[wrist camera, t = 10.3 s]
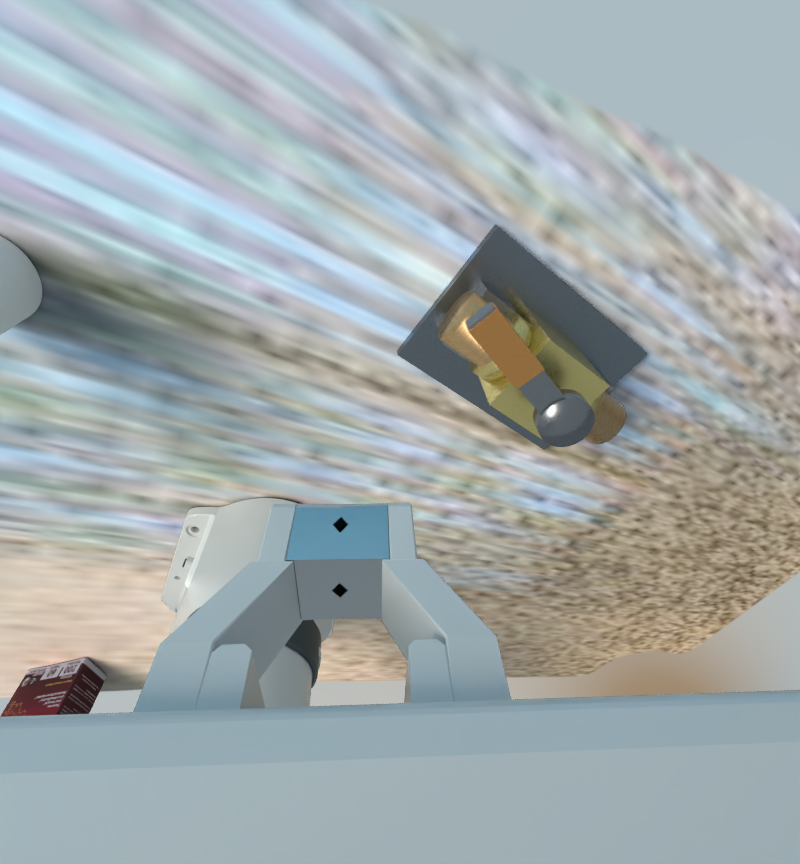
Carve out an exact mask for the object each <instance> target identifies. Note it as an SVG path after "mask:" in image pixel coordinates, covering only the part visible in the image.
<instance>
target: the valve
mask: <svg viewBox="0 0 800 864" xmlns="http://www.w3.org/2000/svg"><path fill="white" fill-rule="evenodd" d="M489 302H491V303H493V302H494V304H495V305H496V306H497V307H498V309H499V310H500V311H501V313H502V314H503V315H504V316H505V318H506V319H507V320H508V322H509V323H510V324H511V325H512V327H513V328H514V329H515V331H516V332H517V333H518V334H519V336H520V337H521V338H522V339H523V341H524V342H525V343H526V345H527V346H528V347H529V348H530V350H531V351H532V352H533V354H534V355H535V356H536V357H537V359H538V360H539V361H540V363H541V364H542V366H543V368H544V369H545V370H544V371H545V372H546V373H547V374H548V376H549V377H550V378H551V379H552V381H553V382H554V383H555V385H556V386H557V387H558V388H559V390H561V389H571V390H574V391H577V392H579V393H580V394H581V395H582V396H583V397H584V398H585V400H586V401H587V402H588V404H589V405H590V406H591V408H592V409H593V411H594V414H595V422H594V426H593V428H592V430H591V431H590V433H589V434H588V435H587V436H586V437H585V438H584V439H585V440H586V441H588V442H589V443H591V444H602V443H605V442H607V441H609V440H611V439H612V438H613V437H614V436H615V435H617V433H618V432H619V431H620V430H621V428H622V427H623V425H624V422H625V419H626V410H625V407H624V406H623V405H622V404H621V403H620V402H618V401H617V400H616V399H615V398H613V397H612V396H611V395H609V394H610V393H611V392H612V391H613V390H614V389H615V388H614V387H613V385H614V384H615V383H616V382H617V381H618V380H620V379H621V378H622V377H623V376H624V375H625V374H626V373H627V372H628V371H629V370H630V369H631V368H632V367H633V366H635V365H636V364H637V363H638V362H639V361H640V360H641V359H642V358H643V357H644V356H645V355H646V354H647V352H645V351H644V350H643V349H642V348H641V347H640V346H639V345H637V344H636V343H635V342H634V341H633V340H631V339H630V338H629V337H628V336H627V335H626V334H624V333H623V332H622V331H621V330H620V329H618V328H617V327H616V326H615V325H614V324H613V323H611V322H610V321H609V320H608V319H607V318H605V317H604V316H603V315H602V314H601V313H600V312H598V311H597V310H596V309H595V308H594V307H592V306H591V305H590V304H589V303H588V302H587V301H585V300H584V299H583V298H582V297H581V296H579V295H578V294H577V293H576V292H575V291H574V290H572V289H571V288H570V287H569V286H568V285H566V284H565V283H564V282H563V281H562V280H561V279H559V278H558V277H557V276H556V275H555V274H553V273H552V272H551V271H550V270H549V269H548V268H546V267H545V266H544V265H543V264H542V263H540V262H539V261H538V260H537V259H536V258H534V257H533V256H532V255H531V254H530V253H529V252H527V251H526V250H525V249H524V248H523V247H521V246H520V245H519V244H518V243H517V242H516V241H514V240H513V239H512V238H511V237H510V236H508V235H507V234H506V233H505V232H504V231H503V230H501V229H500V228H499V227H498V226H497V225H495V226H494V227H493V228H492V229H491V231H490V232H489V233H488V235H487V236H486V237H485V238H484V240H483V241H482V242H481V244H480V245H479V246H478V247H477V249H476V250H475V251H474V253H473V254H472V255H471V256H470V258H469V259H468V260H467V262H466V263H465V264H464V266H463V267H462V268H461V269H460V271H459V272H458V273H457V275H456V276H455V277H454V278H453V280H452V281H451V282H450V284H449V285H448V286H447V287H446V289H445V290H444V291H443V293H442V294H441V295H440V296H439V298H438V299H437V300H436V302H435V303H434V304H433V305H432V307H431V308H430V309H429V311H428V312H427V313H426V314H425V316H424V317H423V318H422V320H421V321H420V322H419V323H418V325H417V326H416V327H415V329H414V330H413V331H412V332H411V334H410V335H409V336H408V338H407V339H406V340H405V341H404V343H403V344H402V345H401V347H400V348H399V349H398V350H397V353H398V355H399V356H400V357H402V358H403V359H405V360H406V361H408V362H409V363H411V364H413V365H414V366H416V367H417V368H419V369H420V370H422V371H423V372H425V373H426V374H428V375H430V376H431V377H433V378H434V379H436V380H437V381H439V382H440V383H442V384H443V385H445V386H447V387H448V388H450V389H451V390H453V391H454V392H456V393H457V394H459V395H460V396H462V397H463V398H465V399H467V400H468V401H470V402H471V403H473V404H474V405H476V406H477V407H479V408H480V409H482V410H484V411H485V412H487V413H488V414H490V415H491V416H493V417H494V418H496V419H497V420H499V421H501V422H502V423H504V424H505V425H507V426H508V427H510V428H511V429H513V430H514V431H516V432H517V433H519V434H521V435H522V436H524V437H525V438H527V439H528V440H530V441H531V442H533V443H534V444H536V445H538V446H539V447H541V448H542V449H544V450H545V449H546V448H547V447H548V446H549V444H547V443H546V442H545V441H544V440H543V439H542V438H541V436H540V434H539V432H538V430H537V428H536V426H535V424H534V421H533V412H534V409H535V407H534V406H533V405H532V404H531V403H530V401H529V400H528V399H527V398H526V397H525V396H524V394H523V393H522V392H521V391H520V390H519V388H518V389H516V388H515V387H514V385H513V384H512V383H511V382H510V381H509V379H508V378H507V377H506V376H505V375H504V374H503V372H502V371H501V370H500V369H499V368H498V366H497V365H496V364H495V363H494V362H493V360H492V359H491V358H490V357H489V356H488V355H487V353H486V352H485V351H484V350H483V349H482V347H481V346H480V345H479V344H478V343H477V342H476V340H475V339H474V338H473V337H472V336H471V334H470V333H469V332H468V329H467V327H466V325H465V324H466V323H465V321H466V320H467V319H469V318H470V317H471V316H472V315H474V314H475V313H476V312H477V311H479V310H480V309H481V308H482V307H484V306H485V305H486V304H487V303H489Z"/></svg>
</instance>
